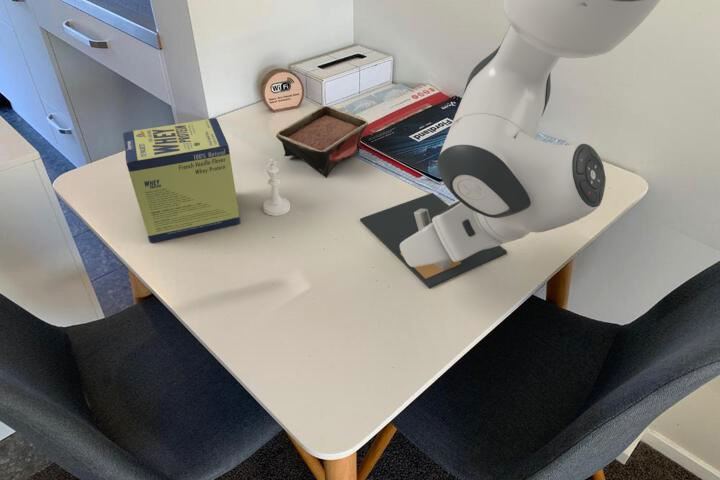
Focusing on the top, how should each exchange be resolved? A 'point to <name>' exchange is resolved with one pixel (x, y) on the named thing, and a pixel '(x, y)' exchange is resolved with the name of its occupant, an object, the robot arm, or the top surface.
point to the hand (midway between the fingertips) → (429, 235)
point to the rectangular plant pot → (323, 137)
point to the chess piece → (275, 194)
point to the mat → (402, 224)
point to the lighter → (422, 222)
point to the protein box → (182, 178)
